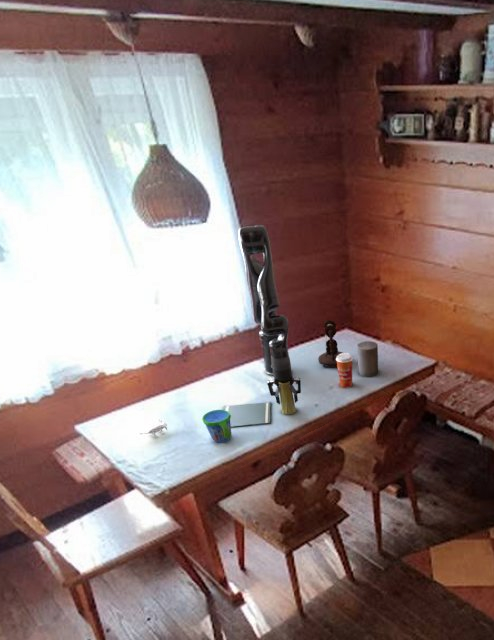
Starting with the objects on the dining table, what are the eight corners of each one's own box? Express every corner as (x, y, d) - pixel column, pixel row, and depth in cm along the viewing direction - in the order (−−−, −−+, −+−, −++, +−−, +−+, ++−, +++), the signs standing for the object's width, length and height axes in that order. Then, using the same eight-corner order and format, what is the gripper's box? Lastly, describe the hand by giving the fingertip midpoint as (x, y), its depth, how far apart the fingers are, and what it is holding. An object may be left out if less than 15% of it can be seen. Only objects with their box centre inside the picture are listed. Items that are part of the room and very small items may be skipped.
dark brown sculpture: (318, 357, 262) (314, 318, 249) (347, 355, 263) (344, 316, 250) (318, 369, 251) (314, 329, 238) (348, 367, 252) (345, 327, 239)
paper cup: (335, 387, 236) (332, 358, 227) (342, 380, 242) (340, 351, 233) (350, 389, 234) (348, 360, 225) (357, 382, 239) (355, 354, 230)
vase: (279, 412, 219) (273, 382, 210) (287, 406, 223) (282, 376, 214) (290, 415, 217) (285, 385, 208) (298, 409, 221) (294, 378, 212)
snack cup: (203, 433, 208) (196, 411, 201) (228, 426, 212) (222, 404, 205) (215, 451, 198) (208, 428, 191) (241, 443, 202) (235, 420, 195)
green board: (224, 407, 224) (224, 406, 224) (270, 403, 226) (270, 402, 226) (221, 428, 211) (221, 427, 210) (270, 423, 213) (269, 422, 212)
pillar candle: (382, 370, 248) (381, 340, 239) (371, 378, 242) (370, 348, 232) (365, 366, 253) (364, 336, 243) (354, 374, 246) (352, 343, 237)
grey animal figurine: (165, 427, 212) (161, 417, 209) (172, 431, 209) (169, 421, 206) (139, 439, 205) (135, 429, 202) (146, 444, 202) (142, 434, 199)
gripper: (299, 360, 210) (304, 397, 221) (263, 363, 209) (270, 400, 220) (299, 368, 205) (304, 405, 216) (263, 371, 203) (270, 408, 214)
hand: (287, 402), depth 218 cm, fingers open, 6 cm apart
